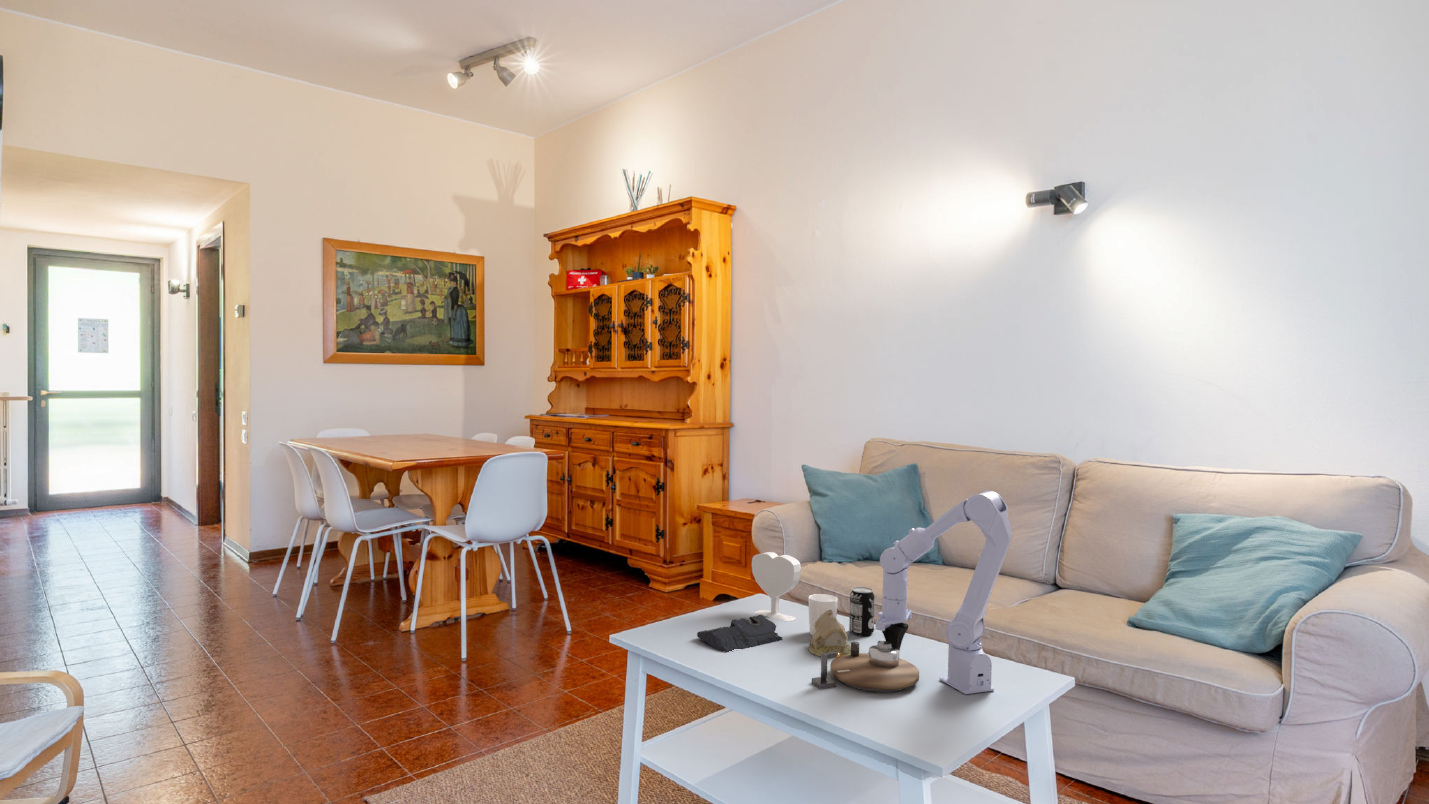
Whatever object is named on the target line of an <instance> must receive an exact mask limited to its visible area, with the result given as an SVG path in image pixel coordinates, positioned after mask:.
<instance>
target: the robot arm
mask: <svg viewBox="0 0 1429 804" xmlns="http://www.w3.org/2000/svg"><path fill="white" fill-rule="evenodd" d="M1008 510H1009V506H1008V505H1007V504H1006V502H1005V501H1004V499H1003V498H1002V496H1001V495H1000V494H999V493H997V492H996V491H993V490H985V491H982V492H981V493H977V494H972V495H970V496H969V497H968V498H967V499H964V500H962V501H961V502H959V503H956V504H955V505H954V506H952V507H951V508H950V509H948V510H947V511H946V512H944V513H943V514H942V515H940V517H939V518H937V519H936V520H934V521H933V522H932V523H931V524H930V525H929V526H926V528H923V527H916V528H913V527H912V528H910V529H909V530H908V531H907V533H908V534H907V535H906V536H904V537H903V538H901V539H900V540H895V541H894V542H893V545H894V546H892V547H888V548H885V549H884V551H883V552H882V553H881V555H880V556H879V565H880V567H881V568H882V569H883V571H882V573H883V574H882V600H881V601H882V605H881V607H882V608H881V611H879V612H877V616H878V619H877V620H875V630H877V631H880V632H881V633H882V635H883V637H884V641H887V642H890V643H891V647H895V648H897V649H898V650H899V651H901V646H902V643H903V641H904V640H903V639H904V637H905V634H906V633H907V631H908V629H909V624H908V623H905V622H907V621H908V620H911V619H912V616H913V611H912V610H911V609H908V607H907V606H908V569H909V568H910V567H911V565H912V563H914V562H915V561H917V560H918V559H919V558H921V557H923V555H925V554H926V553H928V552H930V550H932V549H933V548H934V546H935V542H936V541H935V540H936V539H937V538H938V537H940V536H942V535H943V534H945V533H946V532H948V531H950V529H952V528H954V527H955V526H956V525H958V524H959V523H968V522H971V521H972V522H973V524H975V526H977V527H978V528H979V529H980V531H981V532H982V534H983V536H984V537H985V542H984V545H983V548H982V550H981V553H980V556H979V558H978V561H977V564H976V566H975V569H974V572H973V574H972V578H971V581H970V582H969V585H968V588H967V591H966V593H965V596H964V599H963V601H962V603H961V605H960V607H959V608H958V610H957V612H956V613H955V616H954V618H953V619H952V620H951V621H950V622H949V623H948V624H947V625H946V629H945V635H946V638H947V640H948V653H947V655H948V658H947V659H948V661H947V675H946V676H940V677H939V680H940V681H941V682H944V683H945V684H947V685H949V686H950V687H952V688H954V689H955V690H957V691H958V692H960V693H962V694H964V695H970V694H976V693H983V692H992V691H994V690H995V687H993V686H992V671H993V670H992V665H993V664H992V659H991V658H990V656H989V655H988V654H986V653H985V652H984V650H983V643H982V641H981V638H980V637H982V636H983V634H984V632H985V630H986V624H985V617H986V615H987V610H986V609H987V606H988V603H989V600H990V599H991V595H992V592H993V590H994V587H995V586H996V585H995V584H996V582H997V579H998V577H999V574H1000V571H1001V569H1002V566H1003V563H1004V562H1005V558H1006V557H1007V556H1006V555H1007V552H1008V550H1009V547H1010V545H1011V542H1012V539H1013V533H1012V528H1011V524H1010V518H1009V511H1008Z"/></svg>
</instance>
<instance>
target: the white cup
mask: <svg viewBox="0 0 1429 804" xmlns="http://www.w3.org/2000/svg"><path fill="white" fill-rule="evenodd" d="M828 610H832V611H833V616H835V617H836V618H837V614H838V613H837V612H838V597H837V596H835V595H831V594H826V593H825V594H824V593H814V594H811V595H808V624H809V635H810V636H812V635H813V634H814V633H815V632H816V629H815V623H816V621H817V620H818V618H819V617H820V616H821V615H822V614H824V613H825V612H826V611H828Z"/></svg>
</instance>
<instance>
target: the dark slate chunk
mask: <svg viewBox="0 0 1429 804" xmlns="http://www.w3.org/2000/svg"><path fill="white" fill-rule="evenodd" d="M776 628H777V625H776V624H775V623H774V622H773V621H772V620H769V619H768V618H766V616H763V615H759V614H756V616H755V615H754V616H749V619H746V618H739V619H732V620H731V621H730V625H729V626H723V627H717V628H713V629H712V628H711V629H708V630H701V631H697V633H696V637H697V638H698V639H700V640H702V641H703V642H705V643H707V644H709V646H710V647H713V648H714V649H715V650H717V649H718V651H719V650H720V651H719V652H722V651H725V652H724V653H730V652H729V651H732V650H734V649H741V650H745V649H749V648H750V647H751V648H754V647H758V646H763V645H767V644H772V643H777V642H780V641H783V636H780V635H779V634H778V633H777V632H776V630H777V629H776ZM732 652H733V651H732Z"/></svg>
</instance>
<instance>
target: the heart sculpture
mask: <svg viewBox="0 0 1429 804" xmlns="http://www.w3.org/2000/svg"><path fill="white" fill-rule="evenodd" d="M751 558H752V559H751V572H752V575H753V577H754V579H755V582H756V584H758V586H759V587H760V588H761V590H762V591H763V592H764V593H765V594H766V595H767V596H768V597H769V598H770V599H771V600H770V603H771V604H770V610H768V609H759V610H756V611H754V614H756V615H763V616H764V617H768V618H771V619H775V620H780V621H784V622H793V621H795V620H796V619H797V617H795V616H791V615H787V614H784V613H781V612H780V597H781V596H783V595H786V594H787V593H790V592H791V591H792V590H793V589H794V588H796V586H797V585H798V584H799V582H800V580H801V575H802V566H801V562H800V561H799V560H798V559H797V558H795V557H794V556H791V555H789V554H782V555H778V554H777V553H776V552H773V551H768V552H767V551H765V552H761V553H757V554H755V555H753V556H752V557H751Z"/></svg>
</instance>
